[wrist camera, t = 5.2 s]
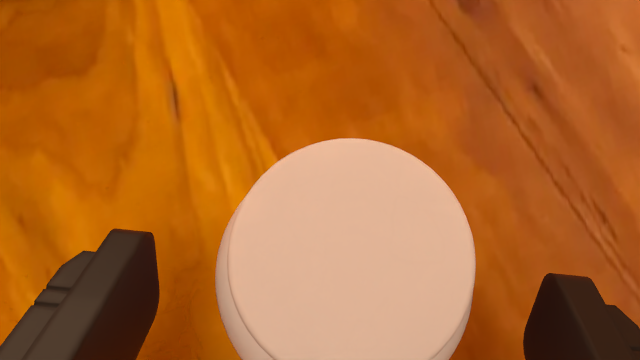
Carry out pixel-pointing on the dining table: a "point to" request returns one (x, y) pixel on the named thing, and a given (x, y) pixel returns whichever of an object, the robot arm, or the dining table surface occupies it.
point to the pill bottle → (346, 259)
